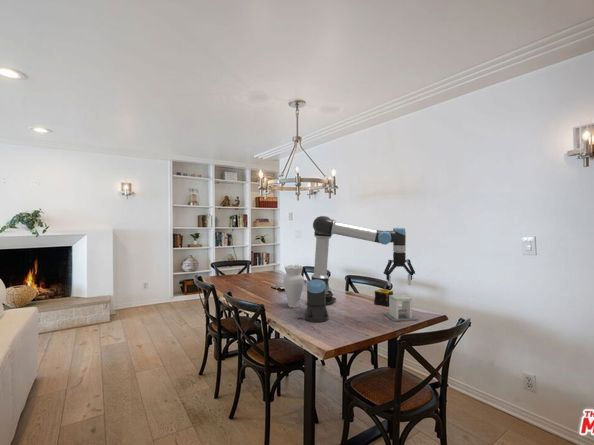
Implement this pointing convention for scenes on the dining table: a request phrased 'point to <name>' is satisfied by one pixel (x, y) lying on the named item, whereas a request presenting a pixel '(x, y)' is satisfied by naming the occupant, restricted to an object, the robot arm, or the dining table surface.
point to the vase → (293, 284)
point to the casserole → (329, 297)
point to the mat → (399, 317)
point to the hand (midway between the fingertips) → (399, 285)
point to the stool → (405, 305)
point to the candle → (382, 297)
